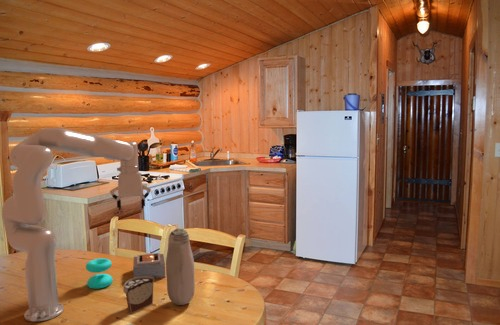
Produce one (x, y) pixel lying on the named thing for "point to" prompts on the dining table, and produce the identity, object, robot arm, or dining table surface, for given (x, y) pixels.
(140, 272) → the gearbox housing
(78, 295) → the dining table surface
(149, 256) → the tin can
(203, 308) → the dining table surface
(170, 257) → the beige bottle
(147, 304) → the brown piece
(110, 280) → the donuts
